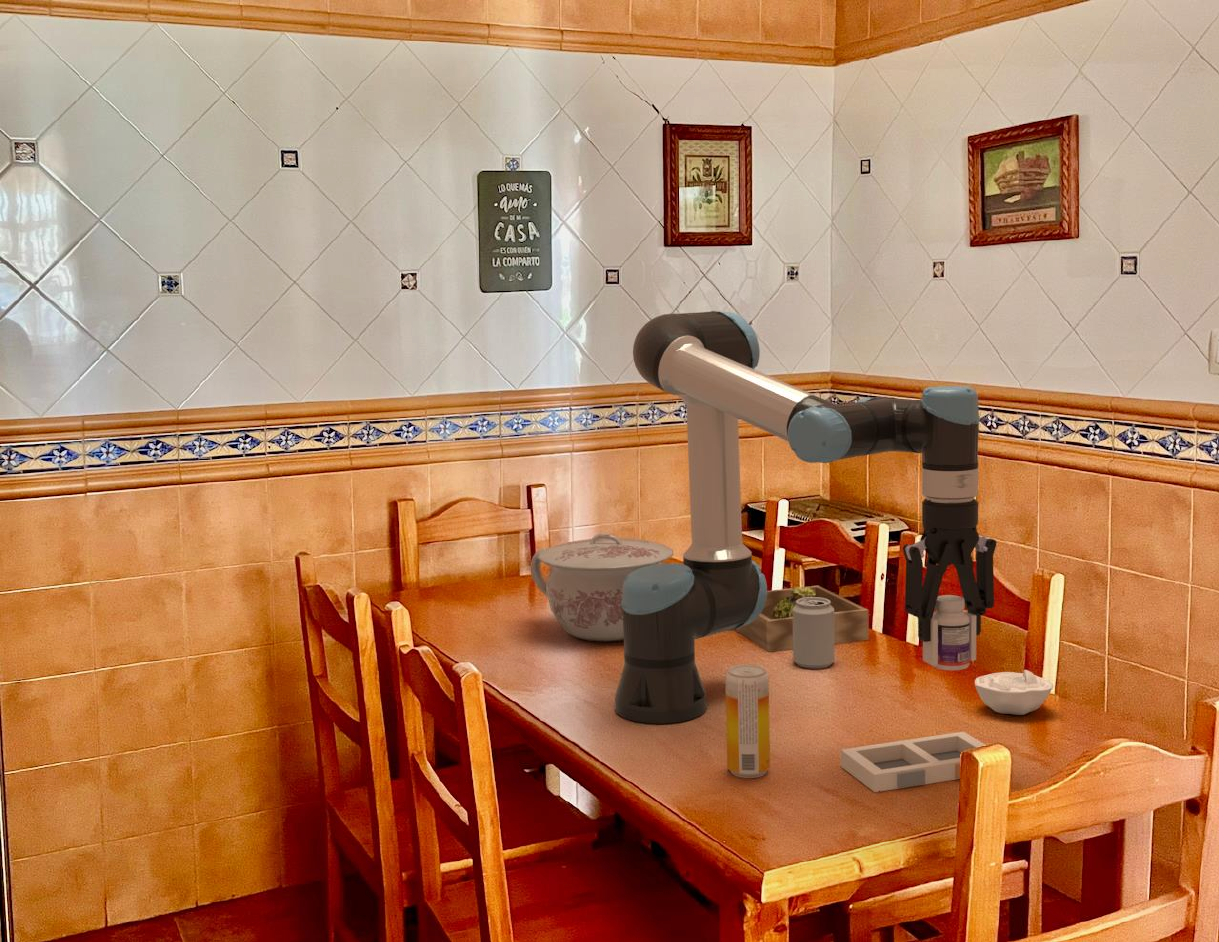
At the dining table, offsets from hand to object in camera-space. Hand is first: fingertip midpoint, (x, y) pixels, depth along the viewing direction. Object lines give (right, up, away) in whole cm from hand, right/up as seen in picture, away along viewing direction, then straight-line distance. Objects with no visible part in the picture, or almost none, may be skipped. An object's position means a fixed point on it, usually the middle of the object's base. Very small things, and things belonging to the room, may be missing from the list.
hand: (949, 660), depth 174 cm
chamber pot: (-48, -6, +77) cm, 91 cm away
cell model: (+17, -12, +23) cm, 31 cm away
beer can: (-28, -16, +2) cm, 33 cm away
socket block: (-4, -16, +1) cm, 16 cm away
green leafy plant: (-9, -6, +72) cm, 73 cm away
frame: (-11, -5, +73) cm, 74 cm away
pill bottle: (0, -1, 0) cm, 1 cm away
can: (-11, -9, +52) cm, 54 cm away
